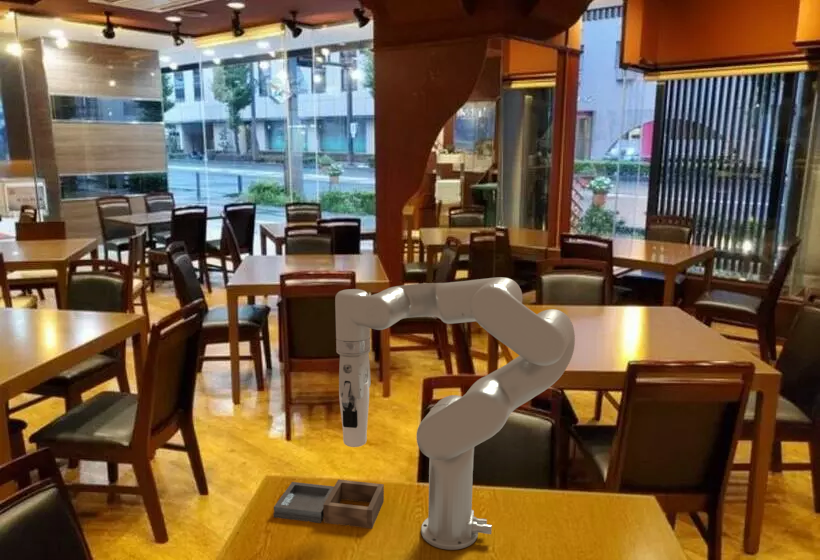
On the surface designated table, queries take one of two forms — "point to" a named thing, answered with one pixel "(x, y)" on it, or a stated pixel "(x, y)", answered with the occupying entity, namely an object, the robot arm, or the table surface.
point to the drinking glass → (359, 434)
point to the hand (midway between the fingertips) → (354, 419)
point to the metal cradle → (303, 502)
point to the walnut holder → (354, 513)
